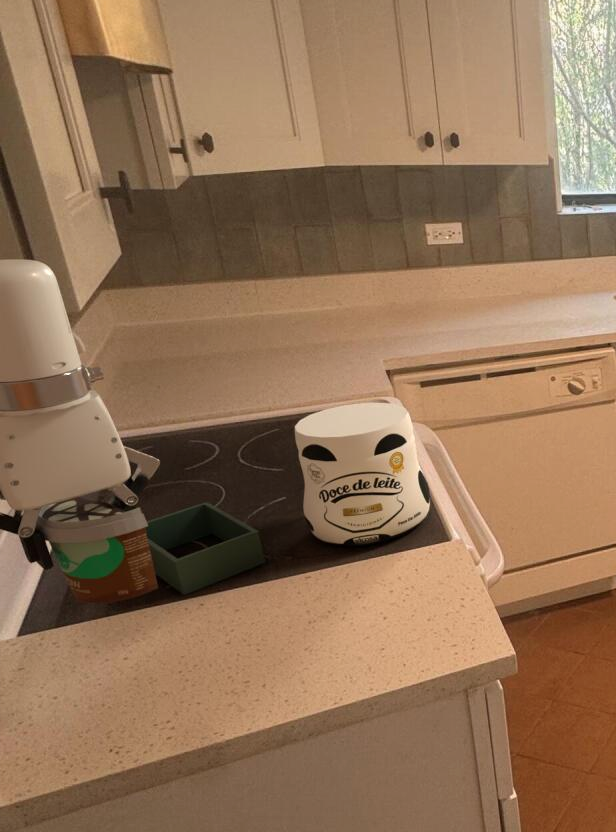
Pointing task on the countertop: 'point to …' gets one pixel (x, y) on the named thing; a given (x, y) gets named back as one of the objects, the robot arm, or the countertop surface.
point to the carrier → (207, 563)
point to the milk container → (361, 474)
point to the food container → (99, 549)
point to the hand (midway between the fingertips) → (88, 549)
